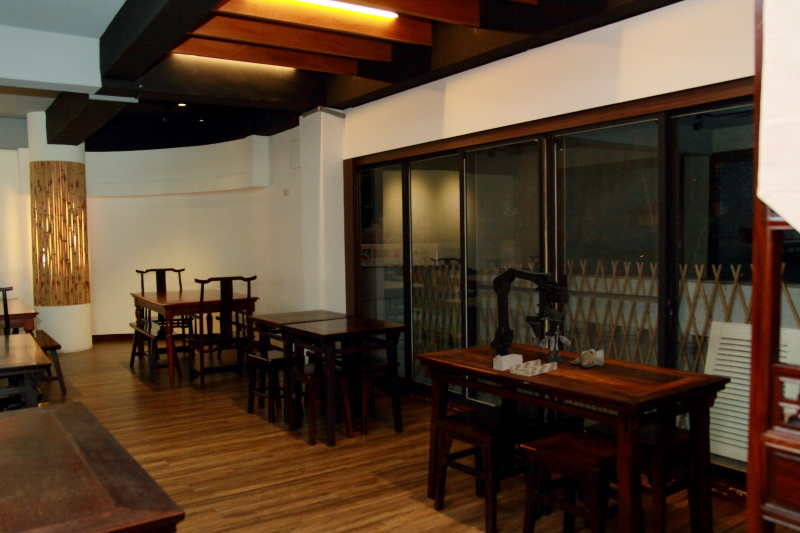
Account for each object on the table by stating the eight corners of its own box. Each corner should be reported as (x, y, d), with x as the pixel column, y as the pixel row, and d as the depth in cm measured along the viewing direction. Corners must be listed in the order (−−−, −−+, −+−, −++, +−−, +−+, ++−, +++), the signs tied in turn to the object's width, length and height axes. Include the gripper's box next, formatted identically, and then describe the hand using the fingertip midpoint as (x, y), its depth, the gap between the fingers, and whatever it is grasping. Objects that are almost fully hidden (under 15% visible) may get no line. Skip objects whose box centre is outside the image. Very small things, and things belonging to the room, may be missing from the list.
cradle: (529, 376, 265) (529, 369, 265) (509, 373, 272) (509, 366, 272) (556, 369, 278) (556, 362, 278) (537, 366, 286) (537, 359, 286)
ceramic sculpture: (610, 347, 280) (581, 352, 275) (611, 367, 281) (583, 371, 276) (595, 344, 290) (567, 348, 285) (596, 362, 291) (568, 367, 286)
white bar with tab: (500, 371, 277) (500, 356, 277) (492, 369, 281) (491, 355, 281) (525, 365, 289) (525, 351, 288) (516, 364, 292) (516, 349, 292)
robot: (565, 358, 302) (565, 316, 301) (573, 360, 298) (573, 317, 297) (535, 363, 291) (534, 320, 291) (542, 365, 287) (542, 321, 286)
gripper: (542, 305, 267) (542, 342, 268) (574, 302, 277) (574, 337, 277) (524, 302, 276) (524, 338, 277) (555, 299, 286) (555, 334, 287)
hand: (545, 337), depth 279 cm, fingers open, 9 cm apart
